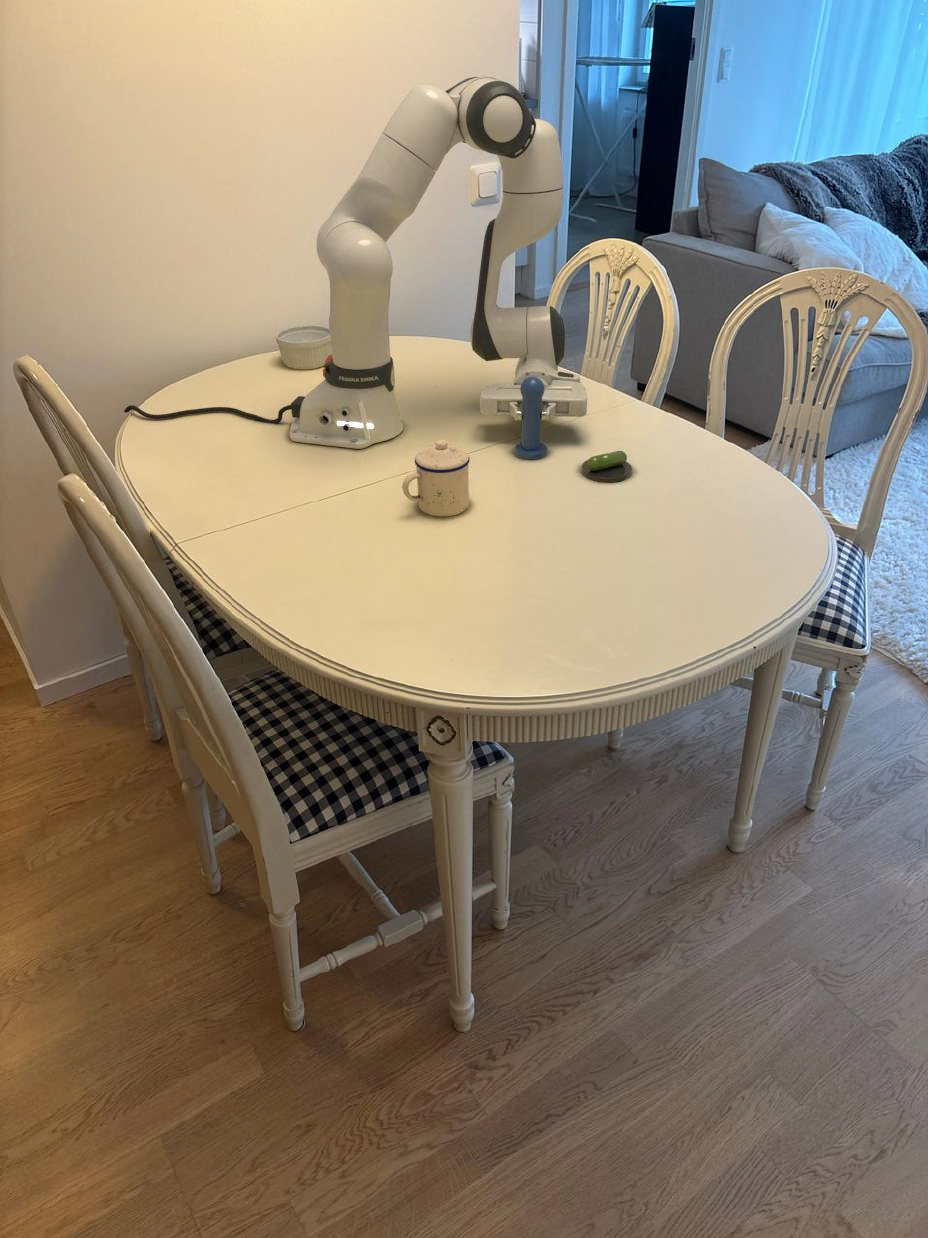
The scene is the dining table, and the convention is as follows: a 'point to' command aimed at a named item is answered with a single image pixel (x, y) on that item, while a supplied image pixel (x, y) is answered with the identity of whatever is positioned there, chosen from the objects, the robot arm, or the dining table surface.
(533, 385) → the blue handle
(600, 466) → the pickle
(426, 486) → the teacup with lid
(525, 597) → the dining table surface
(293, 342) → the ramekin
